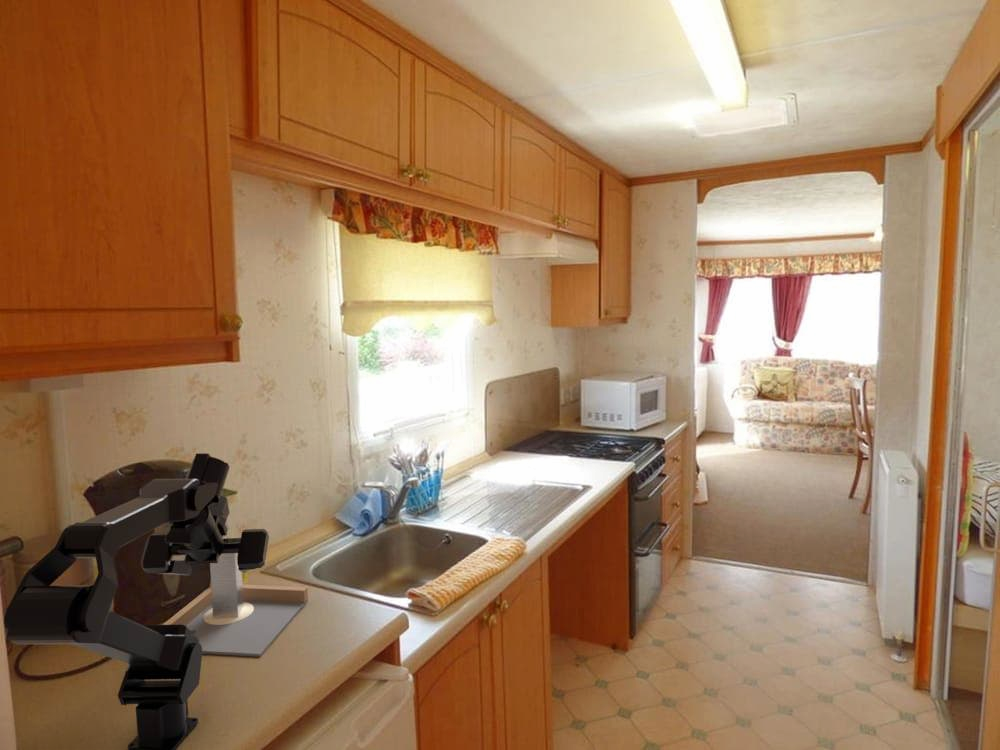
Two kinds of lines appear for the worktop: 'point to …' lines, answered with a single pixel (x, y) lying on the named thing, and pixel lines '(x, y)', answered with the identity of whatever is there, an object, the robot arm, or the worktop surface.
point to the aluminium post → (226, 587)
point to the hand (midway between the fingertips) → (218, 571)
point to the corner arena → (243, 619)
